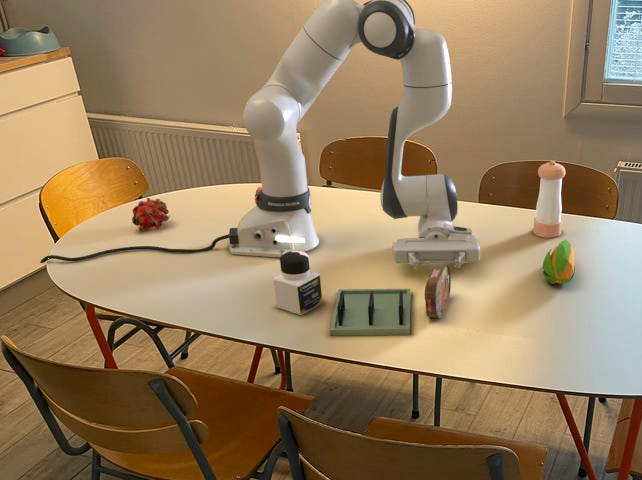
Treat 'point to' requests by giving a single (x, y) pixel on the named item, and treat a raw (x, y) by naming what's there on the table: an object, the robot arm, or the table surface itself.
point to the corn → (559, 263)
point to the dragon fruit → (150, 214)
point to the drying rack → (371, 312)
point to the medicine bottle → (297, 284)
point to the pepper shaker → (549, 201)
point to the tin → (437, 291)
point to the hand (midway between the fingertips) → (437, 264)
